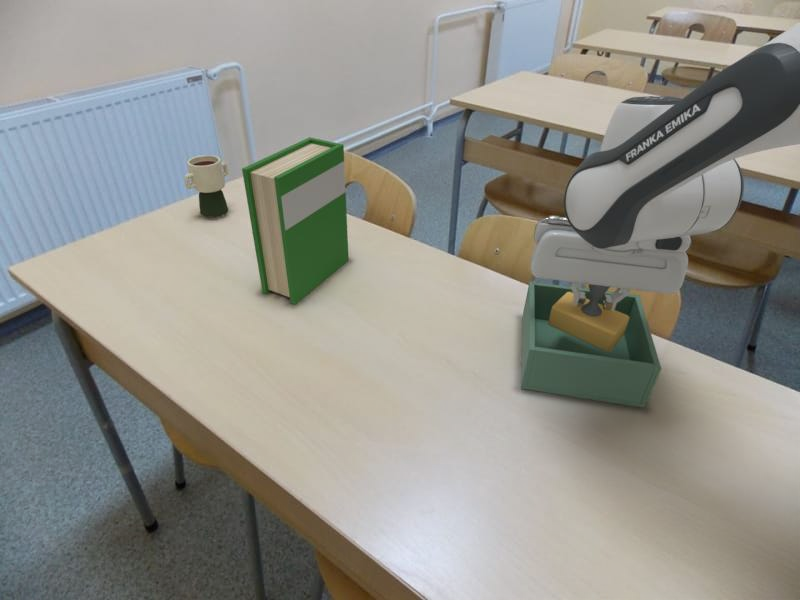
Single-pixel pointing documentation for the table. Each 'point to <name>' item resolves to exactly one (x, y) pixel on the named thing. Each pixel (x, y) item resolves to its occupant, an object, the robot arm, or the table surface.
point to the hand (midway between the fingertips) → (593, 306)
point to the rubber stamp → (589, 319)
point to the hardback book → (298, 216)
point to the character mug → (208, 183)
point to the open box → (586, 353)
